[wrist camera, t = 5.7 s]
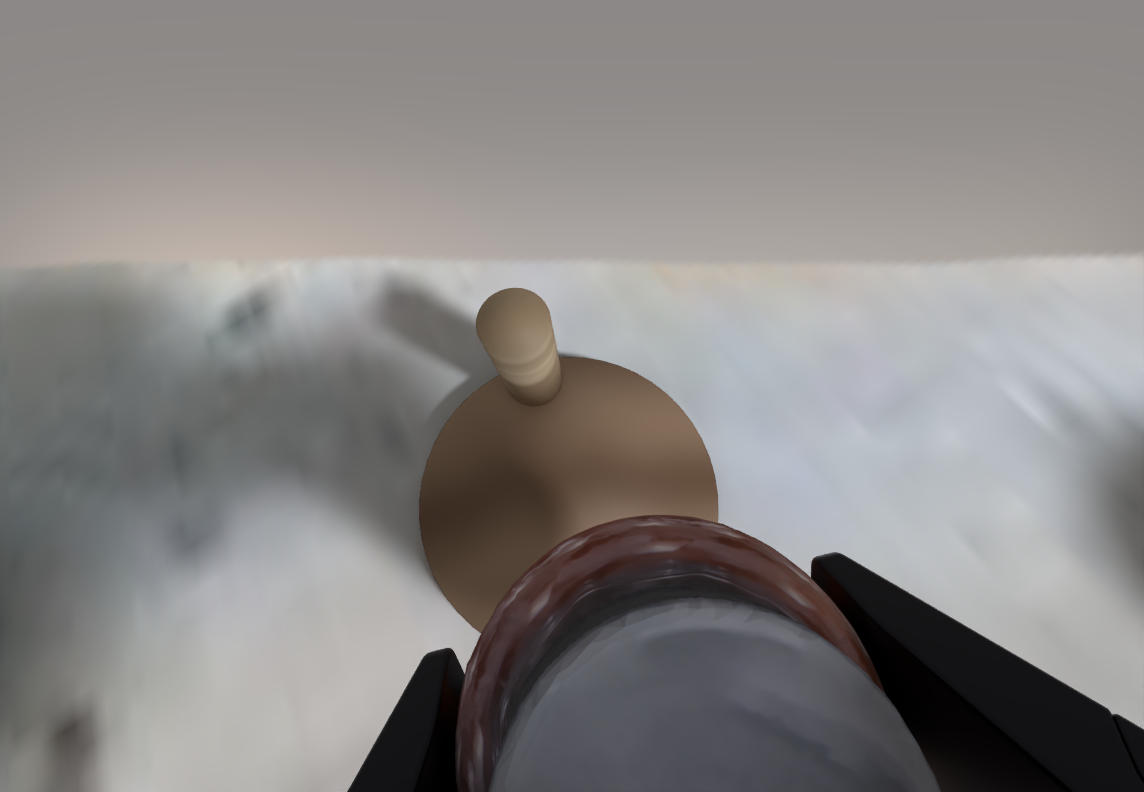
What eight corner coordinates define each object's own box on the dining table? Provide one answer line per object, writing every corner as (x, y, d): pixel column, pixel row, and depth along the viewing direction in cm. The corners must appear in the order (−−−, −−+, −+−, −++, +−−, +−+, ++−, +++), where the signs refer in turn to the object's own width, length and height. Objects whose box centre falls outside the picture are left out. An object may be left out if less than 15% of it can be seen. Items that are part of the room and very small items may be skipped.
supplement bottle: (545, 518, 16) (444, 441, 5) (741, 546, 16) (1064, 523, 5) (511, 739, 14) (267, 1274, 4) (731, 777, 14) (1190, 1519, 3)
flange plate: (756, 606, 21) (833, 635, 14) (459, 695, 20) (392, 769, 14) (656, 326, 24) (680, 241, 17) (401, 398, 24) (324, 338, 17)
